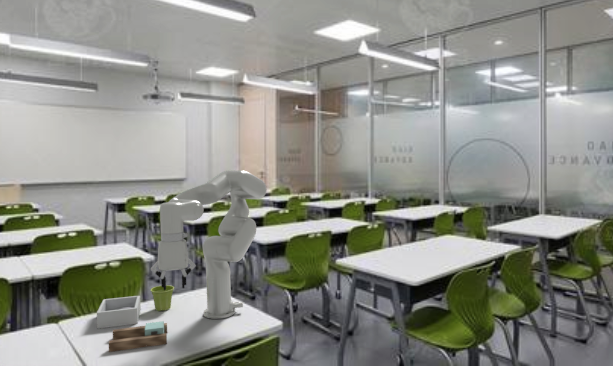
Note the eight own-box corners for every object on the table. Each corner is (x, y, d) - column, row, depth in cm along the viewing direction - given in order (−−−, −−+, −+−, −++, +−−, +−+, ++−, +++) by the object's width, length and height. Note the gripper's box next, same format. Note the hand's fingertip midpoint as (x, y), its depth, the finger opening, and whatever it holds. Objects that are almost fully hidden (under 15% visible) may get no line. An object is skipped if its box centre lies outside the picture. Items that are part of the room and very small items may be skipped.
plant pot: (164, 303, 185) (163, 283, 184) (179, 307, 180) (178, 287, 180) (146, 310, 177) (145, 289, 176) (161, 314, 172) (161, 293, 172)
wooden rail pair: (167, 330, 155) (166, 320, 155) (166, 344, 144) (166, 332, 144) (113, 337, 150) (113, 326, 149) (109, 352, 139) (108, 340, 138)
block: (164, 334, 152) (163, 321, 152) (163, 341, 146) (163, 327, 146) (146, 337, 150) (145, 323, 150) (145, 344, 145) (144, 329, 144)
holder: (140, 309, 178) (140, 295, 177) (137, 323, 162) (136, 308, 162) (104, 313, 174) (103, 299, 173) (97, 328, 158) (96, 312, 158)
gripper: (197, 234, 154) (198, 282, 156) (146, 237, 149) (148, 287, 150) (198, 237, 147) (199, 288, 148) (145, 241, 142) (147, 294, 143)
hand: (174, 287), depth 149 cm, fingers open, 5 cm apart
